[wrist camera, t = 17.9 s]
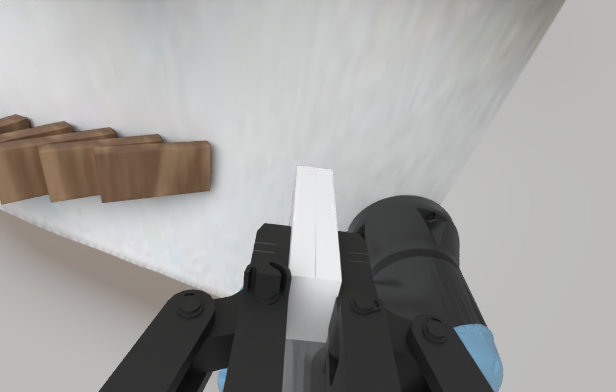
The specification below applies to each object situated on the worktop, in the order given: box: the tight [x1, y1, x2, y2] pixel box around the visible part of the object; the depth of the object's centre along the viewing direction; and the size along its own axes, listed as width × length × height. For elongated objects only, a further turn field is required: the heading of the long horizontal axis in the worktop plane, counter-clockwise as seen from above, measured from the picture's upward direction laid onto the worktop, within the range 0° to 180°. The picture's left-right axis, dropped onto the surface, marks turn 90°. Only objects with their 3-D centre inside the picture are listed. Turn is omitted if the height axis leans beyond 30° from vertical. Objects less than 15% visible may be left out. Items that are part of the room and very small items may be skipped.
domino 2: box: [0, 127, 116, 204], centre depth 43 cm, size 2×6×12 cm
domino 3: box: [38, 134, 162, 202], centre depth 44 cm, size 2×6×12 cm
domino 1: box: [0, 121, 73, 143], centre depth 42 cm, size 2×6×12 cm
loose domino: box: [94, 141, 211, 203], centre depth 45 cm, size 2×6×12 cm
